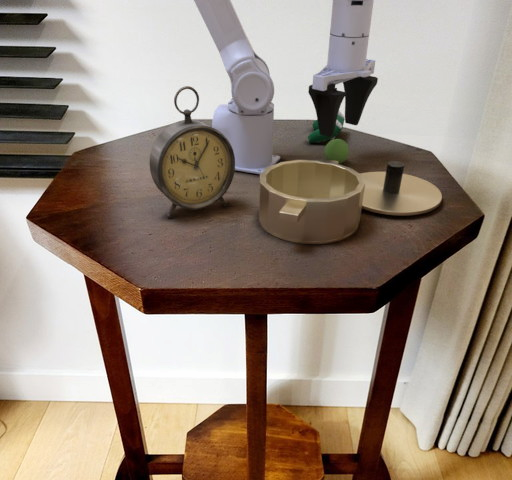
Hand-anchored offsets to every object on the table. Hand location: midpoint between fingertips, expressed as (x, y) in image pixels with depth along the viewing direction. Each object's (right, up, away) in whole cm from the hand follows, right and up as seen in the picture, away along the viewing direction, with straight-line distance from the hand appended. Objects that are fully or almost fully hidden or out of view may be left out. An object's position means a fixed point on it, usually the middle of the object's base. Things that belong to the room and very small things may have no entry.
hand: (339, 129), depth 88 cm
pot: (-6, -18, -13) cm, 23 cm away
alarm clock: (-22, -16, -11) cm, 29 cm away
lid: (+7, -12, -7) cm, 16 cm away
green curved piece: (0, +4, +14) cm, 14 cm away
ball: (0, -3, +2) cm, 4 cm away
